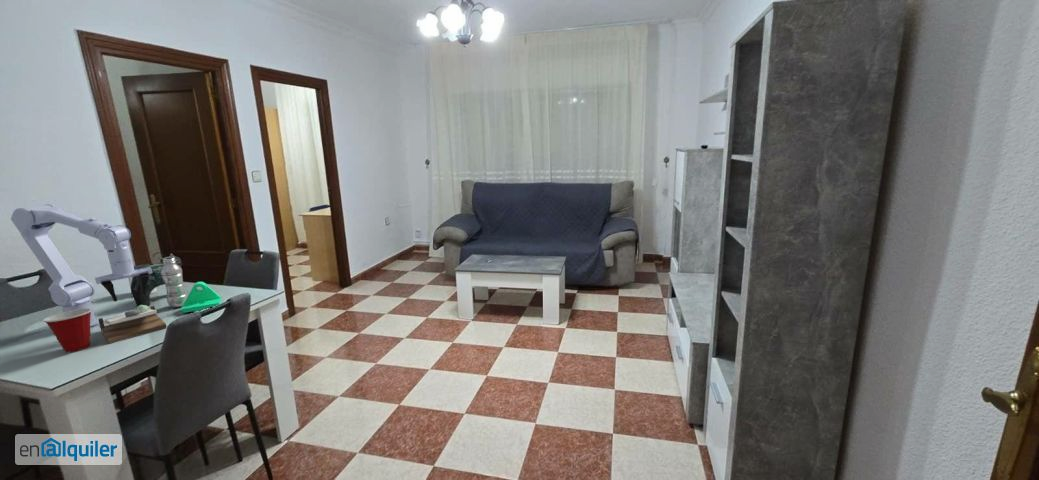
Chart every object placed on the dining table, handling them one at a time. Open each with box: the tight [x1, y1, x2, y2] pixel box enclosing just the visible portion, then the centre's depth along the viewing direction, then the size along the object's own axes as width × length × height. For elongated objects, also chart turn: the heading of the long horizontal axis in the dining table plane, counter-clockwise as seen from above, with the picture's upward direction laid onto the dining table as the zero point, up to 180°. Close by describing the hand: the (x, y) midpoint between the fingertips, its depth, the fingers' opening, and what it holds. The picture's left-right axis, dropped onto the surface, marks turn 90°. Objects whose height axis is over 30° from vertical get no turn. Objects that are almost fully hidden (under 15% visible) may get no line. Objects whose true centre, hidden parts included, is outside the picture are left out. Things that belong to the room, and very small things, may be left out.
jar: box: [127, 263, 158, 295], centre depth 183 cm, size 9×8×12 cm
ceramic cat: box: [130, 251, 183, 307], centre depth 174 cm, size 20×6×20 cm, turn 169°
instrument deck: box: [104, 305, 158, 325], centre depth 147 cm, size 15×12×3 cm
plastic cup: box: [42, 307, 93, 353], centre depth 133 cm, size 11×11×12 cm
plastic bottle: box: [161, 256, 188, 308], centre depth 166 cm, size 6×7×20 cm
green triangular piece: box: [180, 281, 222, 314], centre depth 165 cm, size 12×8×10 cm, turn 120°
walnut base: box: [97, 305, 167, 344], centre depth 147 cm, size 16×15×5 cm
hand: (129, 297), depth 149 cm, fingers open, 7 cm apart
